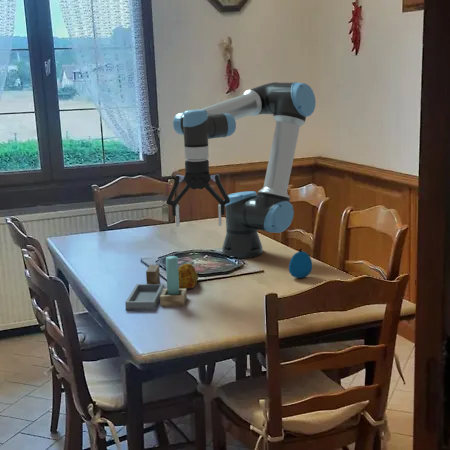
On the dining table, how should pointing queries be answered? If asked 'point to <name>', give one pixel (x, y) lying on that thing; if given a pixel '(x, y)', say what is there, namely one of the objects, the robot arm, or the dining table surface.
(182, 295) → the socket block
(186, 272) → the rock
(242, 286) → the dining table surface
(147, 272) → the block
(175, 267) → the dowel
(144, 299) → the tray
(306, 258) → the ornament
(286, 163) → the robot arm
